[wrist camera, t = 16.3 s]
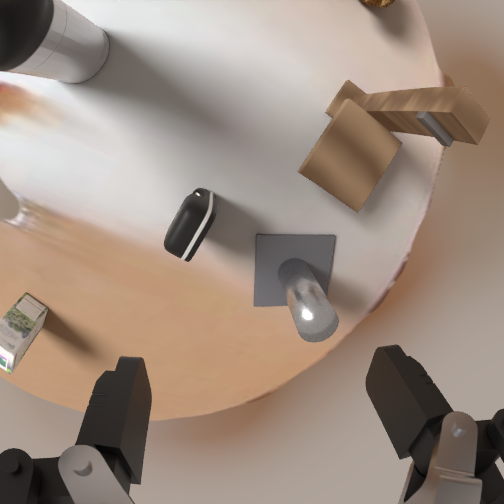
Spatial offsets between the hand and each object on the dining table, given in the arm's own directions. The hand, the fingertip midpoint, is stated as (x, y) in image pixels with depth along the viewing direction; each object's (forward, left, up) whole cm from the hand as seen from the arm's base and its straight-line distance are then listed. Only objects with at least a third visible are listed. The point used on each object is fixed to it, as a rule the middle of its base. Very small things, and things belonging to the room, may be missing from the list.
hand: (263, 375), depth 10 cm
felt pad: (+10, -14, -36) cm, 40 cm away
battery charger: (-5, -4, -36) cm, 37 cm away
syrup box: (-37, -22, -36) cm, 56 cm away
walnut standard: (+16, +7, -36) cm, 40 cm away
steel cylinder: (+10, -14, -35) cm, 39 cm away
